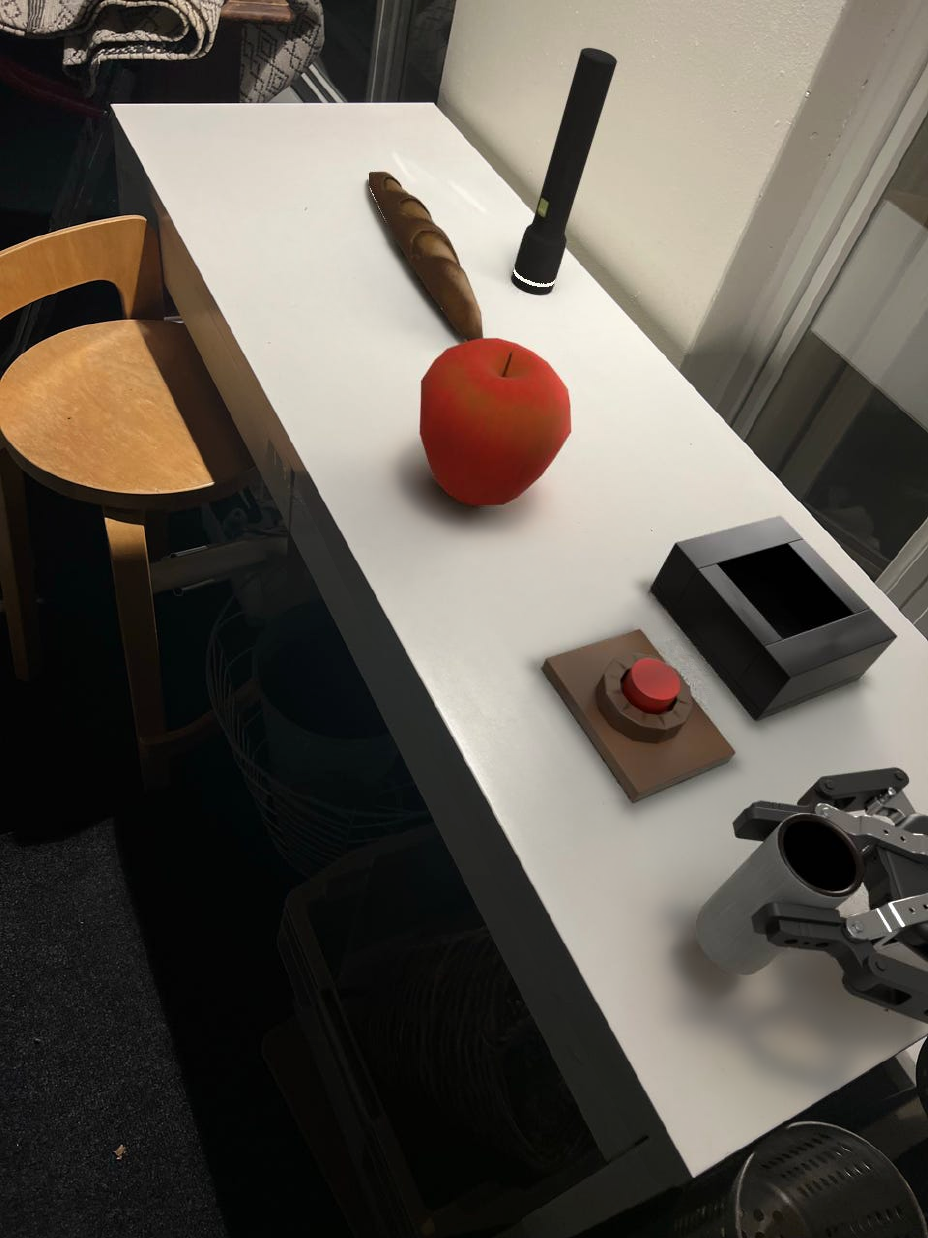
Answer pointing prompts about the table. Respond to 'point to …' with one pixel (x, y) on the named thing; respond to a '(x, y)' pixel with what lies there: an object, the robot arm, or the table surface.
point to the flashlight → (564, 172)
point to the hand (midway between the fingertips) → (750, 868)
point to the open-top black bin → (769, 614)
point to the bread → (428, 254)
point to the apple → (491, 420)
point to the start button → (651, 686)
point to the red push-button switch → (635, 717)
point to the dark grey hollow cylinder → (778, 889)
